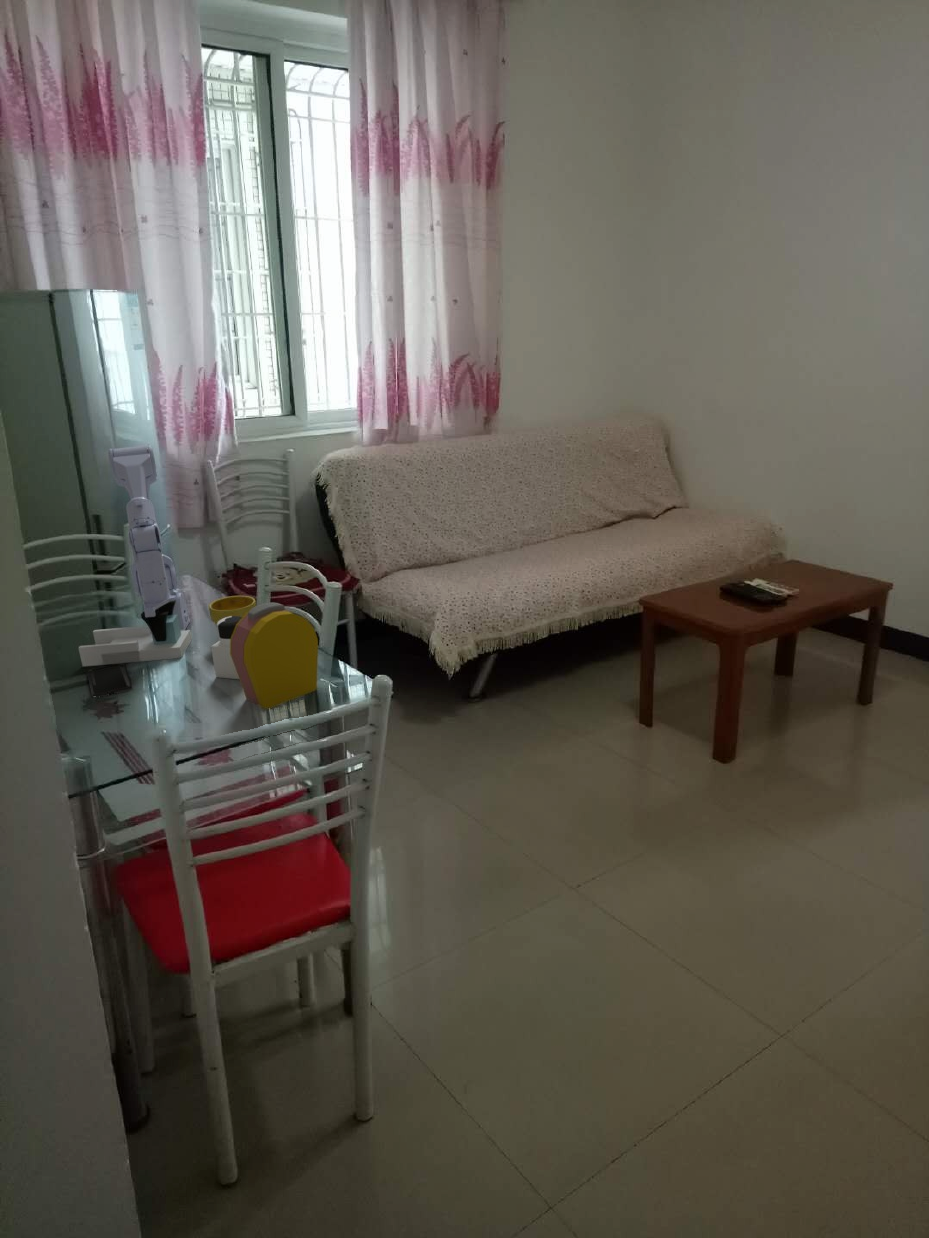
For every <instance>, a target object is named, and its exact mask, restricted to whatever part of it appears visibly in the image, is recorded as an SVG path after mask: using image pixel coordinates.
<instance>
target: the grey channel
mask: <svg viewBox="0 0 929 1238" xmlns="http://www.w3.org/2000/svg"><path fill="white" fill-rule="evenodd" d="M92 634H93V638H94V642H95V644H89V645H88V644H87V645H79V646H78V653H79V656H80V661H81V665H82V668H83V667H93V666H105V665H116V664H122V663H123V664H126V663H138V662H147V661H148V662H149V661H159V660H171V659H180V658H183V656H184V654H186V653H185V652H186V651H187V649H188V647H189V645H190V644H191V642H192V640H193V639H192V633H191V629H187V630H186V629H185V630H184V631H181V637H180V638H179V640H178V641H177V643H170V644H159V645H154V643H153V638H152V633H151V631H150V628H149V626H148V625H138V626H128V627H127V626H125V627H113V628H105V629H94V630H93V631H92Z"/></svg>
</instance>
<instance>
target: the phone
mask: <svg viewBox="0 0 929 1238" xmlns="http://www.w3.org/2000/svg"><path fill="white" fill-rule="evenodd" d="M128 671H129V670H128V668H127V665H126V663H117V664H110V665H107V666H102V667H97V668H93V669H89V670H88V671H87V673H86V675H87V681H89V682H88V684H89V689H90V693H91V697H92V696H96V697H99V696H104V695H108V694H113V693H114V694H113V695H116V694H115V693H117V694H120V693H126V692H129V691H131V690H133V683H132V681H131V678H130V675H129V672H128ZM108 696H109V695H108ZM104 697H105V696H104ZM99 698H100V697H99Z"/></svg>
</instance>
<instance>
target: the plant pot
mask: <svg viewBox="0 0 929 1238" xmlns="http://www.w3.org/2000/svg"><path fill="white" fill-rule="evenodd" d="M256 606H257V601H256V599H255V598H254V597H252V596H249V595H231V596H226V597H221V598H217V599H216V600H213V601H212V602H211V603H210V604H209V606H208V610H209V615H210V616H209V617H210V620H211V622H212V623H214V624H215V627H216V628H217V623H218V621H219V620H221V619H223V618H226V617H230V616H240V617H243V616H244V615H245V614H246V613H248V612H249V611H250V610H251V609H252V608H254V607H256Z"/></svg>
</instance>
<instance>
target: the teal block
mask: <svg viewBox="0 0 929 1238" xmlns="http://www.w3.org/2000/svg"><path fill="white" fill-rule="evenodd" d="M151 633H152V632H151ZM166 633H167V637H166V641H160V642H156V640H155V638H154V636H153V634H152V638H153V643H154V645H159V644H170V643H177V641H178V640H179V638H180V637H181V630H180V625H179V619H178V615H168V616H167V620H166Z"/></svg>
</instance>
